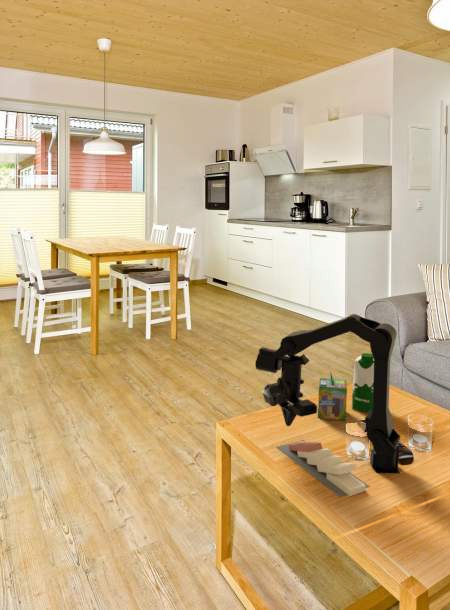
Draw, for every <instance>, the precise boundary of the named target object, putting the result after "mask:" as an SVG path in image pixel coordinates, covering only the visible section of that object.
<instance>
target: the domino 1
mask: <svg viewBox="0 0 450 610" xmlns="http://www.w3.org/2000/svg"><path fill="white" fill-rule="evenodd" d="M299 441H300V442H297V441H295V442H296V443H293V442H292V443H293V444H289V443H288V444H289V450H292V451H300V452H311V451H314V450H318V449H321V448H323V445H322V442H320V441H307V440H304V441H301V440H299Z"/></svg>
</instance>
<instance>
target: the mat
mask: <svg viewBox="0 0 450 610" xmlns="http://www.w3.org/2000/svg"><path fill="white" fill-rule="evenodd" d="M300 441H305V439H302V440H301V439H300V440H297V441H294V442H290V443H286V444H283V445H279V446H275V447H276V449H278V451H280V452H281V453H283V454H284V455H285V456H286V457H288V459H290V460H291V461H292V462H293V463H295V464H296V465H298V466H299V467H301V468H302V469H303V470H304V471H306V472H307V473H308V474H309V475H311V476H312V477H314V479H316V480H317V481H318V482H320V483H321V484H322V485H324V486H325V487H326V488H327V489H328V490H330V491H332V492H333V493H334V494H335V495H337V496H338V497H339V498H342V497H343V496H347V495H348V494H346V493H345V492H344V491H342V490H341V489H340V488H338V487H337V486H336V485H335V484H333V483H332V482H331V481H329V480H328V479H327V478H326V476H327V473H325V472H318V469H317V465H311V464H308V463H307V458H303V457H298V453H297V451H292V450H289V444H293V443H296V442H300ZM348 473H349V474H351V475H352V476H353V477H355V478H356V479H358V480H359V481H361V482H362V483H363V484H365V485H366V487H365V489H368V488H370V487H371V486H370V485H369V484H368V483H366V482H364V481H363V480H362V479H360V478H359V477H358V476H356V475H355V474H353V473H352V472H351V471H349V472H348Z"/></svg>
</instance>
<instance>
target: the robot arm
mask: <svg viewBox="0 0 450 610" xmlns="http://www.w3.org/2000/svg"><path fill="white" fill-rule="evenodd" d="M350 332H351V333H352V334H354V335H356V336H358V338H360V339H361V340H363V341H365V342H366V343H369V346H370V352H371V354H372V355H373V358H374V383H373V411H371V410H370V411H369V412H368V413H366V416H365V417H364V423H365V428H364V431H363V432H364V433H366V437H367V439H368V440H369V442H370V443H371V444H372V449H370V458H369V464H370V467H372V469H373V471H374V472H375V473H376V474H397V475H398V474H400V473H401V472H400V469H399V460H400V448H399V446H398V445H399V442H400V440H401V438H402V437H401V435H400V434H399V433H398V431H396V429H395V428H394V423H393V418H392V414H391V411H390V406H389V404H390V382H391V381H390V380H391V377H390V376H391V375H390V374H391V358H392V355H393V351H394V348H395V343H396V339H397V330H396V328H395V327H394V326H393V325H391V324H390V323H385V322H384V323H383V322H382V323H381V322H378V321H377V320H373V319H369V318H365V317H363V316H360V315H358V314H356V313H353V314H352V313H351V314H350V315H348V316H346V317H343V318H341V319H338V320H335V321H333V322H330V323H326V324H325V325H321V326H318V327H316V328H313V329H306V330H305V329H304V330H303V329H302V330H299V331H298V330H297V331H292V332H291V333H289V334H287V335H286V336H284V337H283V338H282V339H281V341H280V346H279V348H278V349H271V348H268V347H263V346H262V347H260V348H259V349H258V354H257V356H256V358H255V368H256V370H258V371H262V372H268V373H271V374H272V373H273V374H276V373H278V372H279V371H280V372H281V373H280V377H278V378H277V380H276V383H268V384H266V385H265V386H264V389H263V391H262V393H261V394H262V395H263V398H264V402H265V403H267V404H269V405H270V406H271V407H275V406H279V407H280V409H281V412H282V416H283V418H284V424H285V426H287V427H290V426H291V425H292V423H293V422H294V420H295V419H296V417H297V416H298V417H301V418H302V417H305V416H310V415H315V414H318V404H316V403H315V402H313V401H311V400H309V399H308V398H307V399H302V398H303V397H304V393H303V392H301V385H303V384H305V383H304V382H305V380H304V379H303V378H302V367H303V366H302V365H304V366H305V365H307V364H308V363H309V362H310V359H309V358H308V357H306V354H304V353H303V354H301V355H297V354H299V353H301V352H303V351H304V350H306V349H308V348H309V347H311V346H313V345H314V344H319V343H320V342H323V341H327V340H329V339H333V338H336V337H338V336H342V335H343V334H344V335H345V334H346V333H350Z"/></svg>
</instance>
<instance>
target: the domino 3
mask: <svg viewBox="0 0 450 610" xmlns="http://www.w3.org/2000/svg"><path fill="white" fill-rule="evenodd" d="M342 462H343V456H342V455H335V454H332V455H331V456H327V457H324V458H321V459H310V458H307V463H308V464H311V465H318V466H326V467H329V466H332V465H336V464H339V463H342Z"/></svg>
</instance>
